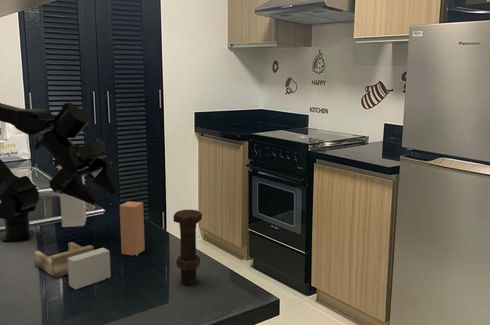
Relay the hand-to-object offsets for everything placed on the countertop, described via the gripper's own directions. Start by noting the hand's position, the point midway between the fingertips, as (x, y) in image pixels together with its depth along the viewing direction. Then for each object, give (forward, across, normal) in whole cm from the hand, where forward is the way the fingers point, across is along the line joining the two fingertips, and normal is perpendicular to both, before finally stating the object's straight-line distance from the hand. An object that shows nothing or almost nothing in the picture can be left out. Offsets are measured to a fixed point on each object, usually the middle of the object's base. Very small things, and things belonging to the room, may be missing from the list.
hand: (105, 198), depth 114 cm
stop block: (+14, -17, +4) cm, 22 cm away
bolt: (+28, -12, -9) cm, 31 cm away
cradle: (+7, -12, +12) cm, 18 cm away
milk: (-5, +14, +23) cm, 28 cm away
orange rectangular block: (+14, 0, +4) cm, 15 cm away
